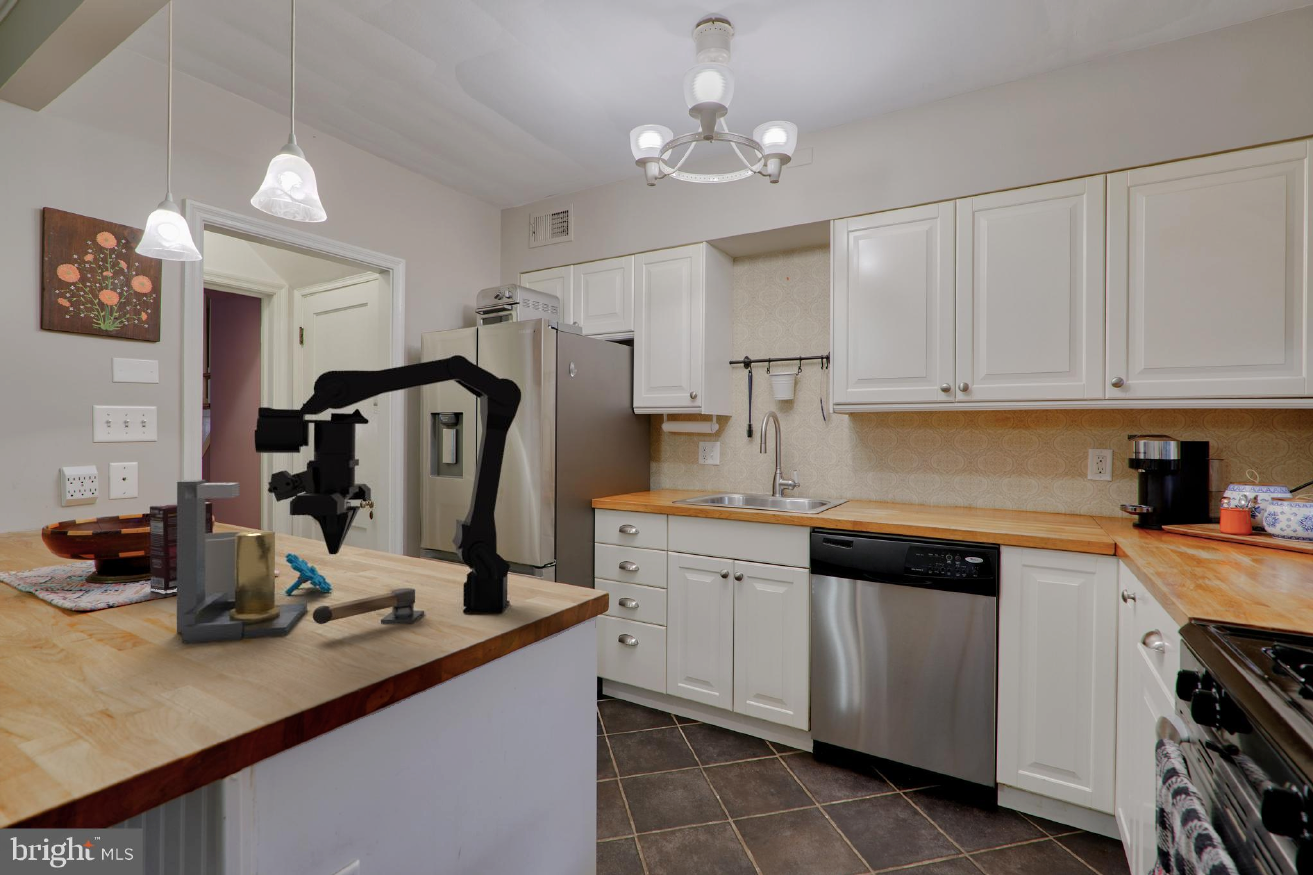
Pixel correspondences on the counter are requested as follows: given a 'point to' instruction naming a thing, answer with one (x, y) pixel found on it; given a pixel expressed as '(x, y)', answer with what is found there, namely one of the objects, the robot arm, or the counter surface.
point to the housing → (254, 577)
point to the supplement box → (167, 544)
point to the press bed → (193, 610)
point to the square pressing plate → (402, 615)
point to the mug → (220, 563)
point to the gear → (306, 575)
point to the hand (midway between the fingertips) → (333, 553)
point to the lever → (364, 605)
